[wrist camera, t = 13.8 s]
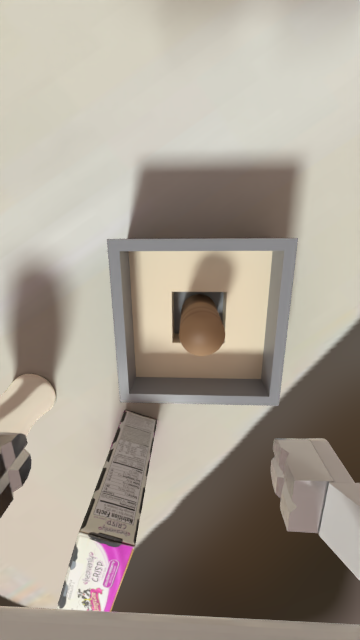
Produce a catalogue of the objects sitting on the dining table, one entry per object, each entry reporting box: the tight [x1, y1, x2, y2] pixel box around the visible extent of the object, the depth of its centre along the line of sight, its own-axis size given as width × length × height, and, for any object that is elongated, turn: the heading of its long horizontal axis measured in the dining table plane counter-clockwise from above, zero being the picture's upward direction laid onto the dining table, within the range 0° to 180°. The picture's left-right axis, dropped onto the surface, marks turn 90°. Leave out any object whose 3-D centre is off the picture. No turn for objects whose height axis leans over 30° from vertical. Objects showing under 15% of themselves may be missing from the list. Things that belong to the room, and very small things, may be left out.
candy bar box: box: [57, 410, 157, 612], centre depth 31 cm, size 11×5×16 cm, turn 163°
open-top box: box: [107, 238, 298, 406], centre depth 29 cm, size 16×16×8 cm
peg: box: [179, 294, 225, 356], centre depth 28 cm, size 4×4×8 cm
